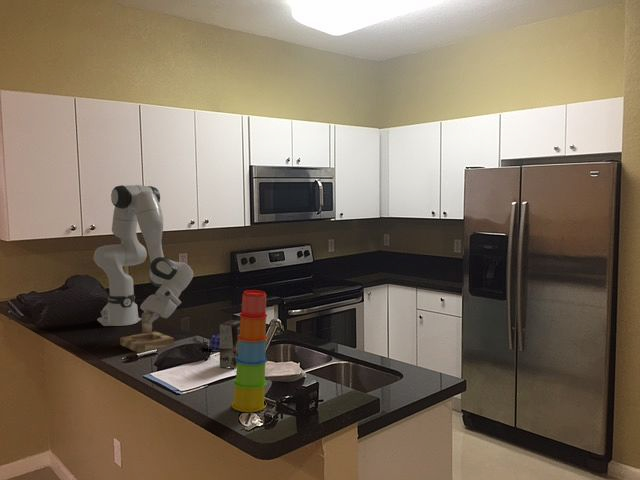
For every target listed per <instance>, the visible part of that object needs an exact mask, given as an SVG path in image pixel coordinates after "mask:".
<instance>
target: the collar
mask: <svg viewBox="0 0 640 480" xmlns="http://www.w3.org/2000/svg"><path fill="white" fill-rule="evenodd" d="M119 343H120V346H122V347H124V348H127V349H129V350H131V351H133V352H136V353H138V354H139V353H142V352H143V353H144V352H148V351H153V350H156V349H157V350H159V349H162V348H166V347H167V348H168V347H171V346H175V338H174V337H172V336H169V335H168V334H167V335H166V334H163V333H161V332H159V331H157V330H155V331H152V333H147V334H144V333H137V334H133V335H129V336H122V337H120V339H119Z"/></svg>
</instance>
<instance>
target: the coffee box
mask: <svg viewBox="0 0 640 480" xmlns="http://www.w3.org/2000/svg"><path fill="white" fill-rule="evenodd" d="M240 321H241V319H240V320H239V319H230V320H227V321H225V322H223V323H220V324H219V335H220V350H219V367H220V366H221V367H230V368H235V369H237V368H236V367H237V362H236V358H237V357H238V347H239V339H238V336H239V335H240ZM221 367H220V368H221Z"/></svg>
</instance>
